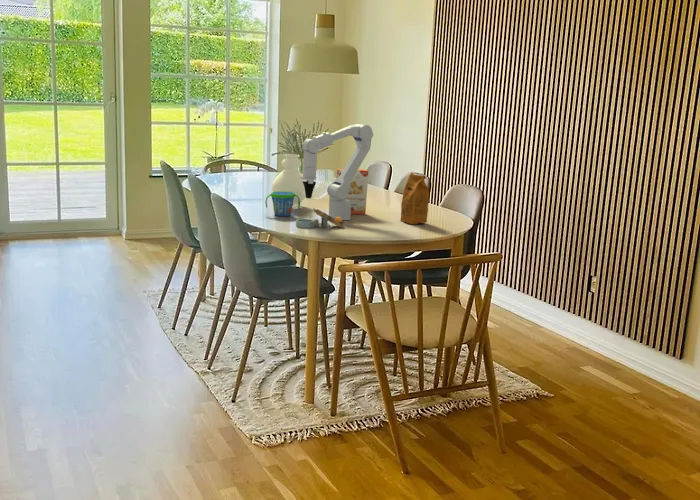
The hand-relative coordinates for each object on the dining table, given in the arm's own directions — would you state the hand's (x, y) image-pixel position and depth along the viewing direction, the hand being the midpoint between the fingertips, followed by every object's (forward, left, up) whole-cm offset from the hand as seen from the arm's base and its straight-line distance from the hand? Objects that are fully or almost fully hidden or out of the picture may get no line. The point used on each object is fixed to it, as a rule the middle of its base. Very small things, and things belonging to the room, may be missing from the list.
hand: (308, 198), depth 327 cm
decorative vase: (-4, -35, -10) cm, 36 cm away
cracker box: (-26, -13, -10) cm, 31 cm away
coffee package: (-46, +12, -10) cm, 49 cm away
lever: (-4, +12, -7) cm, 14 cm away
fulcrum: (-2, +14, -10) cm, 18 cm away
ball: (-8, +16, -7) cm, 19 cm away
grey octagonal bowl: (+6, +12, -10) cm, 17 cm away
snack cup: (+7, -14, -10) cm, 18 cm away
